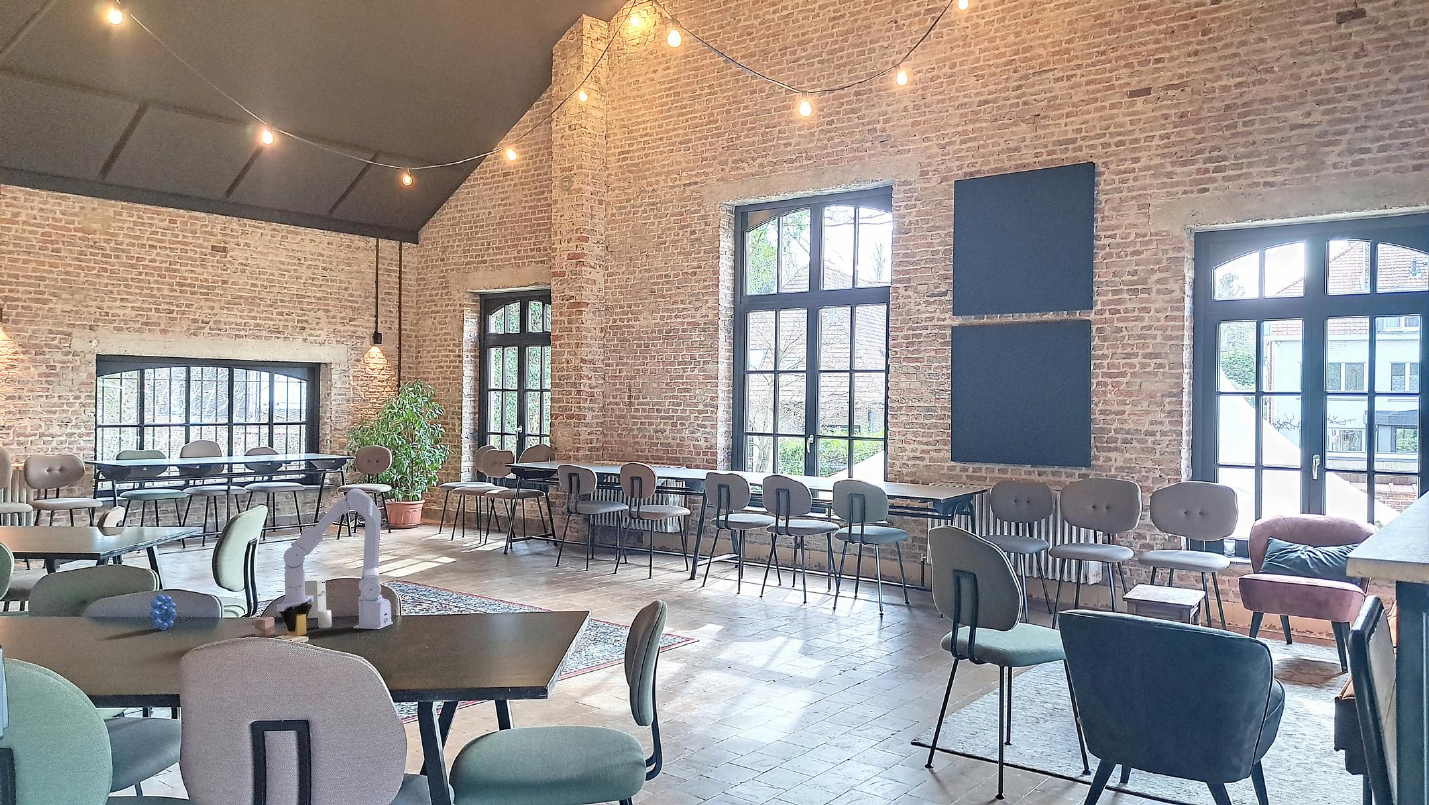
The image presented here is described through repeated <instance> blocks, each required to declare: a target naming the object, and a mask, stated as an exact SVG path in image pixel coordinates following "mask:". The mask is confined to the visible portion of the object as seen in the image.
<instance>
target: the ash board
mask: <svg viewBox="0 0 1429 805" xmlns="http://www.w3.org/2000/svg"><path fill="white" fill-rule="evenodd" d="M274 638H281V639H283V640H292V641H296V642H303V643H306V642H309V636H304V635H301V636H287V635H278V636H274ZM303 643H302V644H303Z"/></svg>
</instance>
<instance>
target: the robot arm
mask: <svg viewBox="0 0 1429 805" xmlns="http://www.w3.org/2000/svg"><path fill="white" fill-rule="evenodd" d="M351 510H353V511H355V512H356V513H359V514H360V515H361V516H362V517H363V518H364V519H365V524H364V526H365V527H364V544H363V563H362V572H361V578H360V580H359V581H358V587H357V588H358V590H359V592H360V595H359V597H358V598H357V599H358V600H357V602H358V604H357V605H358V624H357V625H354V626H353V627H352V628H353V629H365V630H367V629H368V630H370V629H371V630H380V629H383V628H386V627H388V626H390V625H393V624H394V622H393V621H392V604H391V602H390V600H389V599H387V598H384V597H383V595H382V594H381V593H382V586H381V585H382V584H381V583H380V580H379V576H380V574H379V573H380V572H379V565H380V564H379V559H380V546H381V545H380V541H381V522H382V513H381V511H380V509H379V508H378V506H377V505H376V503H375V502H374V501H373V498H372V497H371V496H370V495H369V494H367V493H366V492H365V491H364V490H363V489H361V488H352V489H351V488H350V490H348V491H347V493H346V494H345V495H343V496H341V497H340V498H339V499H338V500H337V501H336V502H335V503H334V504H333V505H332V506H331V507H330V509H329V510H328V511H327V512H326V513H325V515H324V516H323V517H322V518H321V519H320V520H319V521H318V522H317V524H315V525H314V526H311V527H307V528H306V529H302V530H301V532H300V533H301V535H300V536H299V537H298V538H297V539H296V540H295V542H291V543H290V547H288V548H287V549H286V550H285V551H284V553H283V557H282V558H283V561H284V563H285V565H284V570H285V571H284V593H285V594H284V596H285V597H284V598H285V599H283V601H282V602H281V603H278V604H276V611H277V612H279V614H280V616H281V617H282V618H283V620H284V623H285V626H286V630H287V629H288V631H290V632H294V631H295V628H296V617H297V614H306V621H307V619H308V618H307V616H308V613H309V611H310V609H311V607H312V604H308V602H313V601H314V598H313V595H307V596H305V578H306V576H305V570H304V562H305V559H306V556H309V555H310V554H311V552H312V551H313V550H314V549H315V548H316V547H318V545H319V544H320V543H321V542H322V541H323V539H324V538H323V533H325V532H326V531H327V529H329V528H330V527H331V525H332V524H333V523H334V522H336V520H337V519H338V518H340V516H342V515H345V514H348V513H351Z"/></svg>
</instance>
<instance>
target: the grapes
mask: <svg viewBox="0 0 1429 805" xmlns="http://www.w3.org/2000/svg"><path fill="white" fill-rule="evenodd" d="M176 606H177V605H176V602H174V600H172V597H171V595H169V594H163V593H159V594H157V595H156V596H155V599H153V600H152V601H151V602H150V607H151V608H152V609H151V610H150V611H149V613H148V614H149V617H150V618H151V619H152V625H153V627H156V628H158V629H159V630H160V631H166V630H167V629H168V628H172V627H173V625H174V624H175V622H174V620H175V619H176V617H177V615H178V614H177V611H176Z"/></svg>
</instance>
